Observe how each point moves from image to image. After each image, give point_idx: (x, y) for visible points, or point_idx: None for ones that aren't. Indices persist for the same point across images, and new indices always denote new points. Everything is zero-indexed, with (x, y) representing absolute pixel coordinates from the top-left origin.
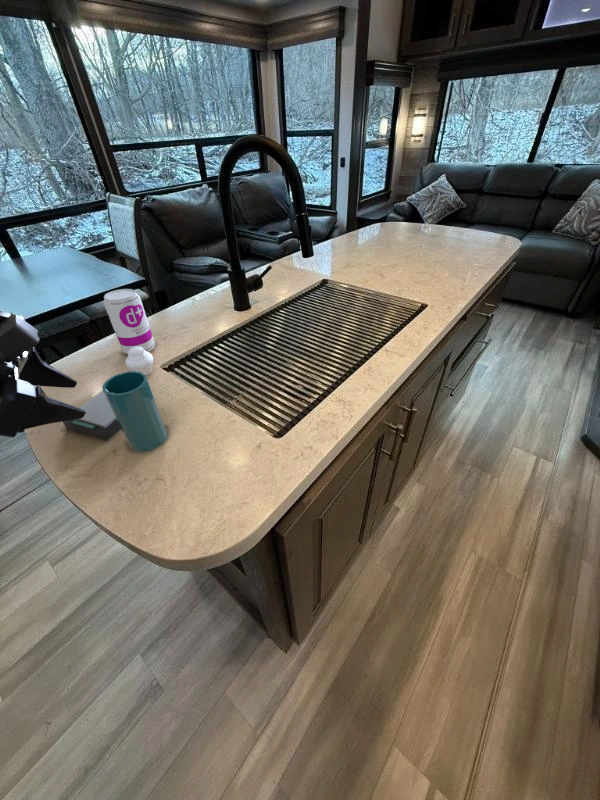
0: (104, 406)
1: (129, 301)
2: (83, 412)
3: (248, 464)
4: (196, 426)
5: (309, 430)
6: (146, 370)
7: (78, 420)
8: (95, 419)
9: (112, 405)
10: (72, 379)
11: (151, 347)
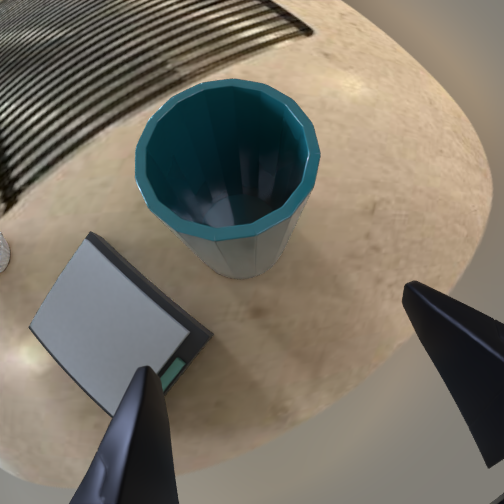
0: (104, 337)
1: None
2: (422, 284)
3: (364, 76)
4: None
5: (307, 5)
6: (3, 241)
7: None
8: (152, 358)
9: (287, 230)
10: (137, 381)
11: None
